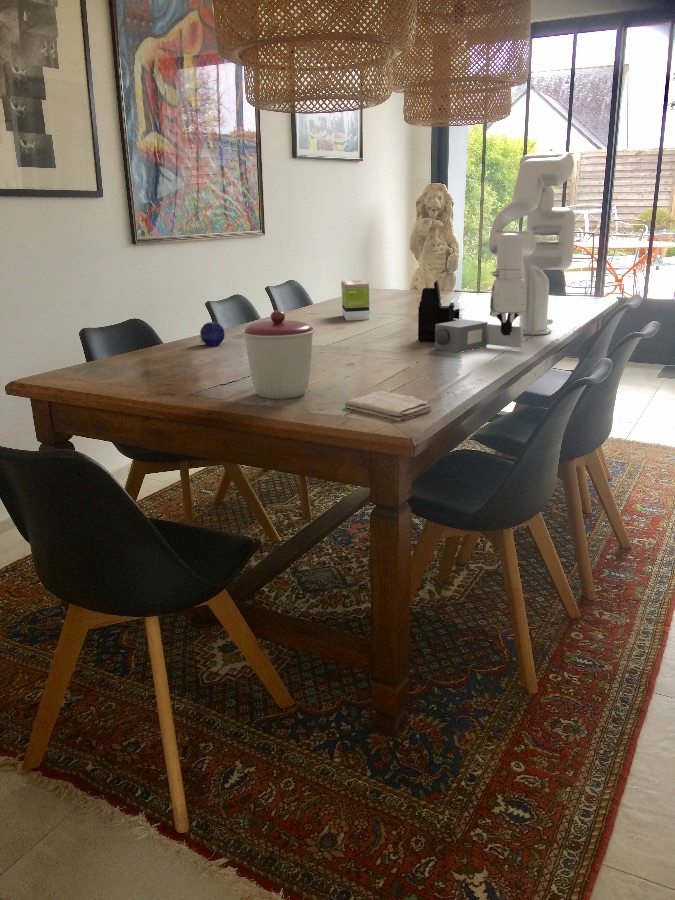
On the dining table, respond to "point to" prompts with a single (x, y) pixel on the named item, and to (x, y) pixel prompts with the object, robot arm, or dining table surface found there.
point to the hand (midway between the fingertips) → (505, 334)
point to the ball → (211, 334)
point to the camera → (433, 313)
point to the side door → (501, 340)
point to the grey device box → (460, 335)
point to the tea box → (355, 300)
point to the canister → (279, 356)
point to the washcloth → (389, 405)
